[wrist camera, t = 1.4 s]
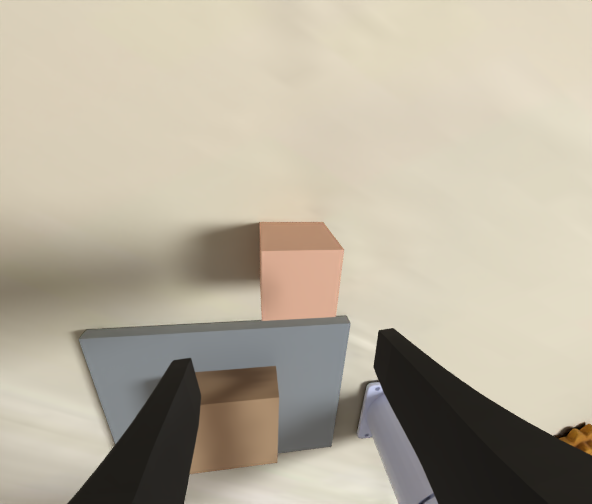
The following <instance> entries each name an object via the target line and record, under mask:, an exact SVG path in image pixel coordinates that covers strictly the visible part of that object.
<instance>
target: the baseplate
mask: <svg viewBox="0 0 592 504" xmlns="http://www.w3.org/2000/svg"><path fill="white" fill-rule="evenodd" d="M349 330H350V321H349V319H348V317H347V316H336V317H326V318H307V319H289V320H270V321H262V320H258V321H240V322H221V323H203V324H184V325H165V326H147V327H128V328H109V329H91V330H86V331H85V332H84V333H83V334H82V335H81V337H80V338H79V342H80V345H81V348H82V351H83V354H84V356H85V359H86V362H87V365H88V368H89V371H90V373H91V376H92V379H93V382H94V385H95V388H96V391H97V393H98V396H99V399H100V402H101V405H102V408H103V411H104V413H105V416H106V419H107V422H108V425H109V428H110V430H111V433H112V436H113V439H114V442H115V444H116V443H117V442H118V440H119V439H120V438H121V436H122V435H123V434H124V432H125V431H126V430H127V428H128V427H129V426H130V424H131V423H132V421H133V420H134V419H135V417H136V416H137V414H138V413H139V411H140V410H141V408H142V407H143V405H144V404H145V403H146V401H147V400H148V398H149V397H150V395H151V394H152V392H153V390H154V389H155V387H156V386H157V384H158V383H159V381H160V380H161V378H162V376H163V375H164V373H165V372H166V370H167V368H168V367H169V365H170V364H171V362H172V361H173V360H178V359H185V358H191V359H192V363H193V367H194V370H195V372H204V371H217V370H229V369H242V368H255V367H267V366H276V371H277V381H278V391H279V420H278V453H285V452H293V451H301V450H309V449H316V448H324V447H331V446H332V439H333V433H334V426H335V420H336V413H337V407H338V401H339V394H340V388H341V381H342V375H343V368H344V362H345V355H346V349H347V342H348V336H349Z"/></svg>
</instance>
